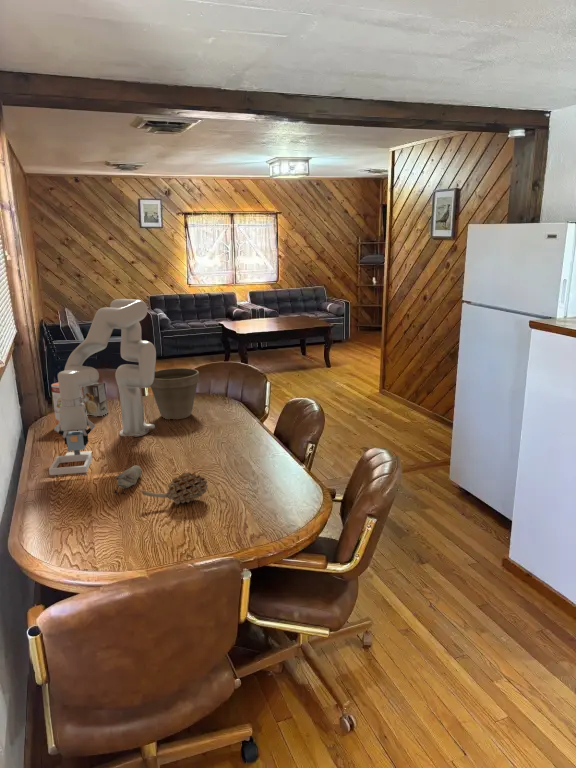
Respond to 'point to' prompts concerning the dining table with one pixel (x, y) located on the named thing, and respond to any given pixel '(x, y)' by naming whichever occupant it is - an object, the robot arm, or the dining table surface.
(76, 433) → the collar
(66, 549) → the dining table surface
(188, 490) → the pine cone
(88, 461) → the tray
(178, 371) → the plant pot
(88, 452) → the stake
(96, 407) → the coffee box
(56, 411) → the cracker box
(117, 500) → the dining table surface
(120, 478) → the decorative bird
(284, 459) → the dining table surface
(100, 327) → the robot arm
